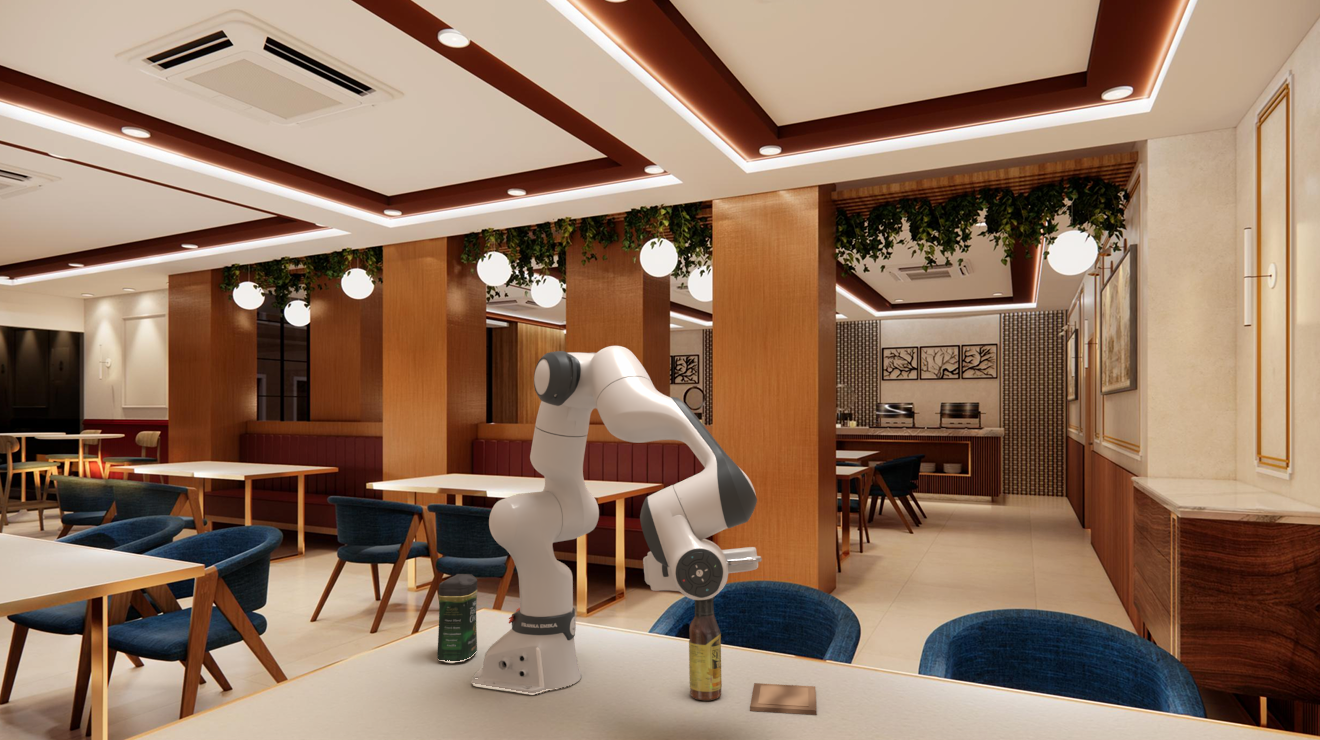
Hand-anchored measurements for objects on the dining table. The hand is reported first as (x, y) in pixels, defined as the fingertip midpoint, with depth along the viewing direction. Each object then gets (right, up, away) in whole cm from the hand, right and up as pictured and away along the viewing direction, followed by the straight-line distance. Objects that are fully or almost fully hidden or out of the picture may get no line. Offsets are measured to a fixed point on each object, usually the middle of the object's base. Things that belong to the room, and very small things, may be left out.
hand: (700, 561), depth 135 cm
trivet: (+16, -28, +5) cm, 32 cm away
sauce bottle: (+1, -28, +7) cm, 29 cm away
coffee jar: (-54, -31, +32) cm, 70 cm away
